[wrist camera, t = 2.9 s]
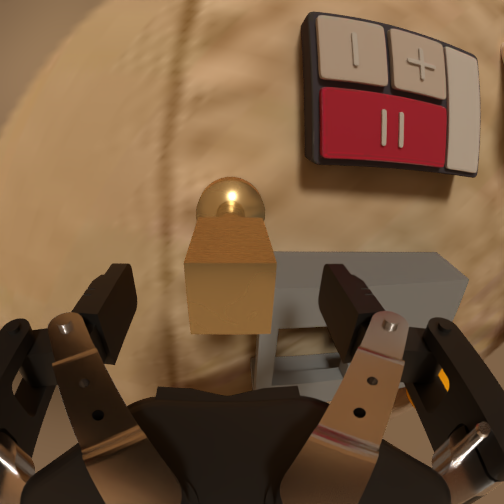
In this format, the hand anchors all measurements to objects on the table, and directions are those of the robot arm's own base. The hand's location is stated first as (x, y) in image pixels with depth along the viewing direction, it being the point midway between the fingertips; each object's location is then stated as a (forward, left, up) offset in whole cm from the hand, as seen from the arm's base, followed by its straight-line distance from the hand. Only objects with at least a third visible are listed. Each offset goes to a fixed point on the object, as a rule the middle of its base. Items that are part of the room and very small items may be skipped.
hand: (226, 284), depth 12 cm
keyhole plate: (-11, +10, -11) cm, 18 cm away
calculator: (-13, -10, -11) cm, 20 cm away
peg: (0, 0, -11) cm, 11 cm away
